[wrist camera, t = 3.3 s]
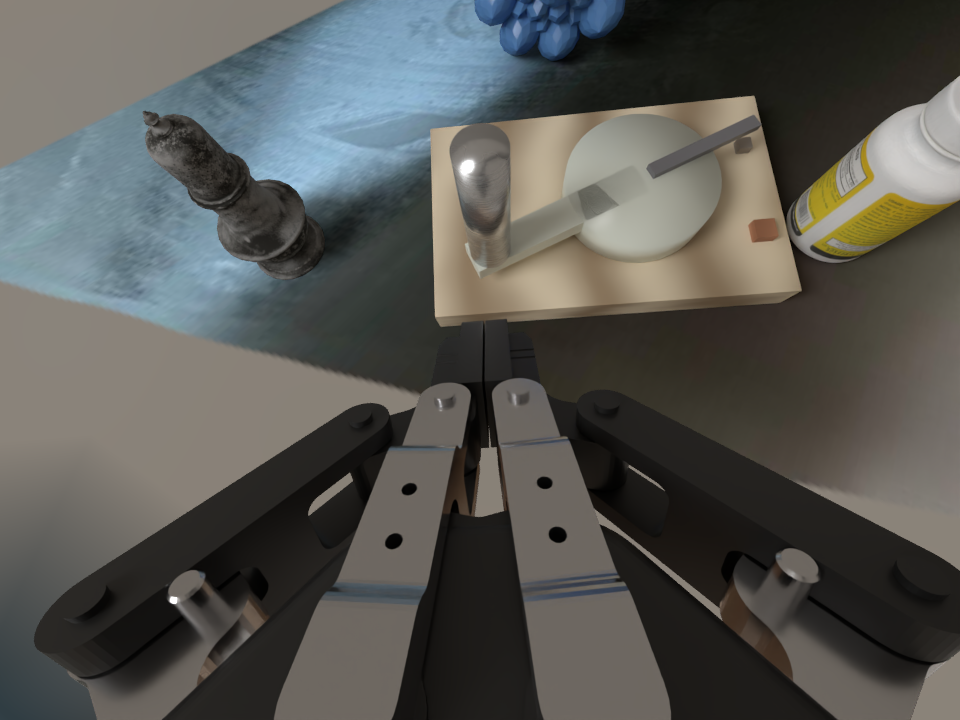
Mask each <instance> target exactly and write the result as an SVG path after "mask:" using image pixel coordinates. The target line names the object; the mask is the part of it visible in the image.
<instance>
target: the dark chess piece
mask: <svg viewBox="0 0 960 720" xmlns="http://www.w3.org/2000/svg"><path fill="white" fill-rule="evenodd" d="M143 117H144V119H145V120H144V122H145V124H146V125H148V126H150V127H149V128H148V131H147V133H146V138H145V141H146V147H147V151H148V153H149V154H150V156H151V157H152V158H153V160H154V161H155V162H156V163H157V164H159V165H160V166H161V167H162V168H164V169H165V170H166V171H167V172H168V173H170V174H171V175H172V176H173V177H175V178H176V179H177V180H178V181H180V182H181V183H182V184H183V185H185V186H186V187H187V189H188V194H189V196H190V197H191V199H192V201H194V202H195V203H196V204H197V205H198V206H200V207H202V208H205V209H210V210H213V211H215V212H216V213H217V214H218V215H219V217H218V225H217V231H218V236H219V240H220V242H221V243H222V245H223V247H224V248H225V249H226V250H227V251H228V252H229V253H230V254H231V255H233V256H235V257H237V258H239V259H241V260H245V261H252V262H257V264H258V265H259V267H260V269H261V270H263V271H264V272H265V273H266V274H267V275H269V276H271V277H273V278H276V279H282V280H287V279H294V278H297V277H300V276H303V275H304V274H306V273H307V272H309V271H311V269H312V268H313V267H314V266H315V265H316V264H317V263H318V262H319V260H320V258H321V257H322V254H323V251H324V247H325V237H324V234H323V230H322V229H321V227H320V226H319V224H318V223H317V222H316V221H315V220H313V219H312V218H311V217H309V216H306V214H305V208H304V204H303V200H302V199H301V197H300V196H299V194H298V193H297V191H296V190H294V189H293V188H292V187H291V186H290V185H288V184H286V183H283V182H281V181H277V180H269V179H268V180H259V181H255V180H254V179H253V178H252V177H251V176H250V171H249V167H248V166H247V164H246V163H245V161H244V160H243V159H241V158H240V157H239V156H237V155H235V154H232V153H227V152H226V151H225V150H224V149H223V148H222V147H221V146H220V145H219V144H218V143H217V142H216V141H215V140H214V139H213V138H212V137H211V136H210V135H209V134H208V133H207V132H206V130H205V129H204V128H203V127H202V126H201V125H199V124H198V123H197V122H196V121H194V120H193V119H191V118H189V117H186V116H183V115H177V114H171V115H166V116H163V117H160V118H159V116H158V114H156V113H151V112H146V111H143Z"/></svg>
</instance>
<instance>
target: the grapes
mask: <svg viewBox="0 0 960 720" xmlns="http://www.w3.org/2000/svg"><path fill="white" fill-rule="evenodd" d="M624 8H625V0H475V12H476V14H477V16H478V18H479V20H480V21H482V22H484V23H486V24H487V25H489V26H494V25H498V24H502V23H503V24H502V26H501V29H500V44H501V46H502V48H503V49H504V51H506V52H507V53H509V54H511V55H513V56H519V55H522V54H526V53H527V52H528V51H529V50H530V49H531V48H532V47H533V46H534V44H535V42H536V40H537V38H538V49H539V51H540V53H541V55H542V56H543V57H545V58H547V59H549V60H550V61H555V60H560V59H563V58H564V57H566V56H567V55H568V54H569V53H570V52H571V51H572V50H573V49H574V47H575V45H576V43H577V41H578V40H579V34H580V31H581V33H582V34H583V35H584V36H586V37H588V38H590V39H597V38H601V37H604V36H606V35H607V34H608V33H609V32H610V31H612V30H613V29H614V28H615V27H616V26H617V24H618V23H619V21H620V19H621V17H622V16H623V14H624Z"/></svg>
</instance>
